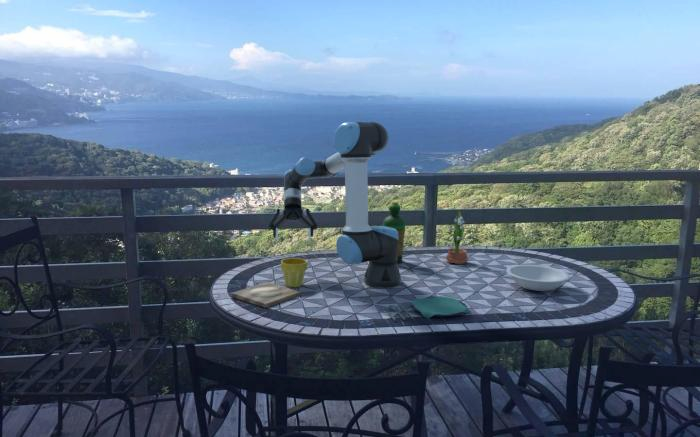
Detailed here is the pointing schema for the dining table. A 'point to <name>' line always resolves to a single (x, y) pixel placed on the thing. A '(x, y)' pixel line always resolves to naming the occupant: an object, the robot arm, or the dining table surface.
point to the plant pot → (293, 271)
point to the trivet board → (266, 294)
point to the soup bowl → (537, 277)
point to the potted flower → (457, 243)
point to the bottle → (396, 226)
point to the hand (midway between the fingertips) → (293, 242)
